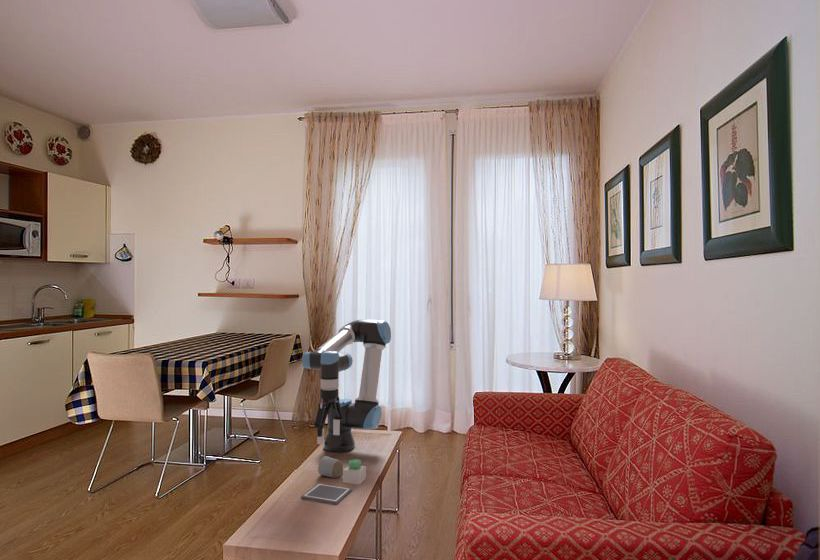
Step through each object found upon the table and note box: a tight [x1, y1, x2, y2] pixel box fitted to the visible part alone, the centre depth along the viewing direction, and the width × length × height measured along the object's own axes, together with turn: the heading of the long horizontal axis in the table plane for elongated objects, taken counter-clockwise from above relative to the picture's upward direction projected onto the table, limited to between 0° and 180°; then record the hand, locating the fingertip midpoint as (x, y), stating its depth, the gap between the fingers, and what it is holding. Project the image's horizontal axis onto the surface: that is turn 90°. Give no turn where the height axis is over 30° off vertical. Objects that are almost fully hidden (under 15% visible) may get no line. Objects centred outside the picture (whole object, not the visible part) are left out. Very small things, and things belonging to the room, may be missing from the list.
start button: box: [348, 458, 362, 468], centre depth 200 cm, size 5×5×2 cm
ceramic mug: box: [317, 455, 344, 479], centre depth 205 cm, size 11×8×8 cm
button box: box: [342, 465, 367, 486], centre depth 200 cm, size 7×7×5 cm
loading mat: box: [300, 482, 353, 505], centre depth 186 cm, size 13×15×1 cm
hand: (328, 439), depth 203 cm, fingers open, 13 cm apart
